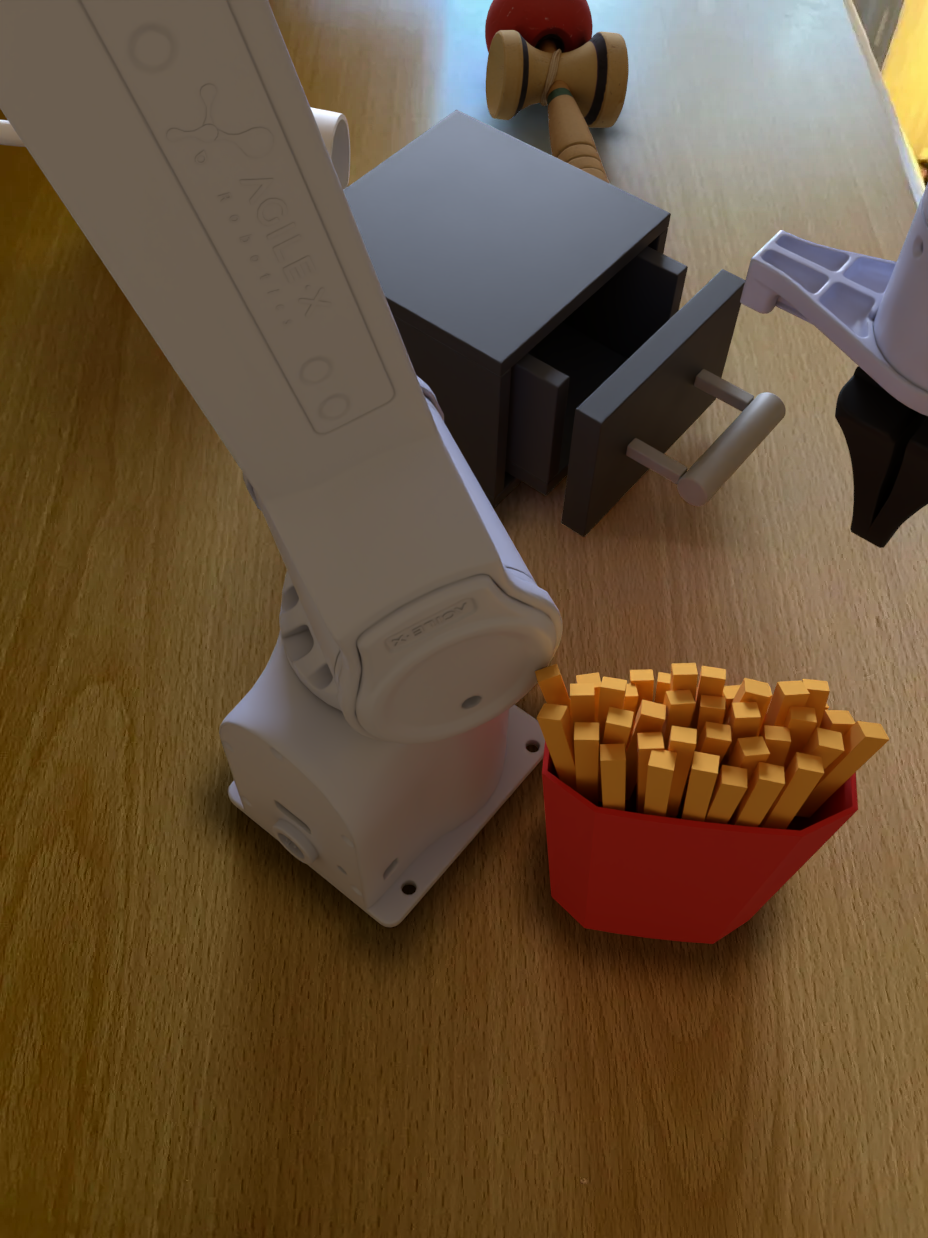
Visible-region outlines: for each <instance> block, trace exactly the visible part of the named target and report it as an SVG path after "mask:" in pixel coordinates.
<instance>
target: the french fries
mask: <svg viewBox="0 0 928 1238" xmlns="http://www.w3.org/2000/svg"><path fill="white" fill-rule="evenodd" d="M535 674H536V678H537V681H538V682H537V685H538V687H539V689H540V691H541V694H542V696H543V698H544V701H545V702H544V703H543V705H542V707H541V708H540V710H539V712H538V714H537V716H536V720H538V722H539V725H540V728H541V731H542V733H543V736H544V739H545V746H544V756H543V759H542V765H541V767H542V768H541V778H542V779H541V780H542V792H543V794H542V795H543V807H544V819H545V832H546V844H547V858H548V871H549V884H550V897H551V898H552V899H553V900H554V901H555V902H556V903H557V904H559V906H560V907H562V909H563V910H565V912H567V913H568V914H569V916H571V917H572V918H573V919H574V920H575V921H576V922H577V923H578V924H579V925H580V926H581V927H582V928H584V929H587V930H593V931H600V932H604V933H605V932H606V933H610V934H617V935H623V936H630V937H631V936H632V937H637V938H645V939H653V940H661V941H672V942H679V943H680V942H682V943H694V944H708V945H714V944H716V943H717V942H718V941H720V940H722V939H724V937H726V936H728V935H729V934H731V933H732V932H734V931H735V930H737V929H739V928H740V927H741V926H743V925H744V924H746V923H747V922H749V921H750V920H751V919H752V918H753V917H754V916H755V915H756V914H757V913H759V911H760V910H761V909H762V908H763V907H764V906H766V904H767V903H768V902H769V900H771V898H773V897H774V896H775V895H776V894H777V893H778V891H780V889H782V888H783V886H784V885H786V883H787V882H788V881H790V880H791V879H792V877H794V875H796V873H797V872H798V871H799V870H801V868H802V867H803V866H804V865H805V864H806V863H807V862H808V861H809V860H811V858H812V857H813V856H814V855H815V854H816V853H817V852H818V851H819V850H820V849H821V848H822V847H823V846H824V845H825V844H826V843H827V842H828V841H829V840H830V839H831V838H832V837H833V836H834V835H835V834H836V833H837V832H838V831H839V830H840V829H841V828H842V827H843V826H844V825H845V824H846V823H847V822H848V821H849V820H850V819H851V818H852V816H853V815H854V814H856V813H857V812H858V811H859V803H858V802H859V800H858V799H859V798H858V786H857V772H858V770H859V769H861V768H862V767H864V765H865V764H866V763H867V762H868V761H869V760H871V758H872V757H874V755H875V754H876V753H877V752H879V750H881V749H882V748H883V747H884V746H885V745H886V744H887V743H888V742H889V741H890V737H889V736H888V734H887V732H886V731H885V728H884V726H883V725H882V724H881V723H878V722H870V721H863V720H857V721H856V720H855V719H854V717H853V716H852V714H851V713H850V711H849V710H844V709H830V706H829V704H828V699H829V696H830V693H831V690H830V686H829V683H828V681H827V680H821V679H820V680H819V679H809V678H802V679H801V680H785V681H783V680H782V681H776V684H775V687H774V690H773V692H772V689H771V686H770V684H769V683H768V682H765V681H760V680H756V679H752V678H748V677H744V678H743V680H742V682H741V684H734V685H733V684H731V685H726V680H727V669H726V668H720V667H713V666H707V665H701V668H700V674H699V673H698V667H697V663H696V662H675V663H671V664H670V673H668V672H662V671H658V673H657V680H656V688H654V687H655V678H654V677H655V676H654V671H653V669H649V668H648V669H629V683H628V680H627V679H622V678H615V677H609V676H602V679H601V677H600V676H601V675H600V672H598V671H597V672H592V673H591V672H590V673H584V674H578V675H575V679H576V683H569V693H568V690H567V687H566V685H565V682H564V679H563V677H562V674H561V670H560V667H559V665H558V663H554V664H551V665H548V667H545V668H543V669H540V670H537V671H535ZM654 689H655V693H654Z"/></svg>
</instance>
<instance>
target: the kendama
mask: <svg viewBox="0 0 928 1238" xmlns="http://www.w3.org/2000/svg"><path fill="white" fill-rule="evenodd" d="M592 18H593V17H592V12H591V9H590V5H589V3H588V1H587V0H492V1H491V3H490V5H489V8H488V11H487V14H486V19H485V25H484V37H485V38H484V39H485V45H486V49H487V55H488V56H487V62H486V72H485V99H486V107H487V110H488V114H489V115H490V117H491V118H492V119H494V120H501V121H510V120H512V119H513V118H514V117H515V116H516V115H518V114H519V113H520V112H522V111H523V110H525V109H526V108H528V107H531V106H533V105H536V104H540V106H542V107H546V109H547V124H548V136H549V143H550V151H551V155H552V156H554V157H556V158H558V159H560V160H562V161H564V162H566V163H568V164H570V165H572V166H574V167H576V168H578V169H581V170H583V171H585V172H587V173H589V174H591V175H593V176H595V177H597V178H599V179H601V180H603V181H605V182H607V183H609V184H611V182H610V180H609V178H608V174H607V173H606V169H605V167H604V166H603V161H602V158H601V156H600V154H599V152H598V151H599V150H598V148H597V145H596V142H595V140H594V136H593V135H592V132H591V130H590V129H610V128H612V127H613V126H614V125H615V124H616V122H617V121H618V119H619V118H620V115H621V113H622V111H623V108H624V104H625V100H626V95H627V90H628V83H629V72H630V71H629V54H628V46H627V43H626V40H625V39H624V37H623V35H622V34H620V33H618V32H611V31H597V32H596V33H594V34H593V27H594V25H593V19H592Z"/></svg>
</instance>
